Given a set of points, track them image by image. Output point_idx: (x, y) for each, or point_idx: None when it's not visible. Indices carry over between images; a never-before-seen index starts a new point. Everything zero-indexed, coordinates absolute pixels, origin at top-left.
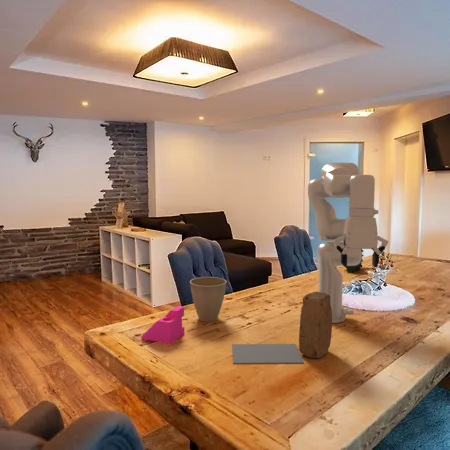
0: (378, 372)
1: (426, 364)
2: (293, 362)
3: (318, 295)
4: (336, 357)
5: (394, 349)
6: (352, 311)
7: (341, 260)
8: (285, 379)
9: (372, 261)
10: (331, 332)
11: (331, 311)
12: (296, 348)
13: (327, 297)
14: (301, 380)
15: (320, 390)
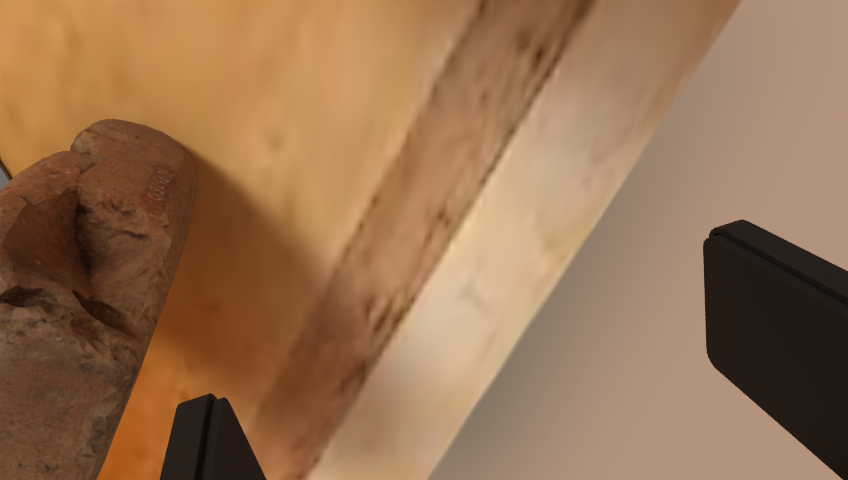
0: (426, 282)
1: (628, 141)
2: None
3: (19, 428)
4: (244, 206)
5: (531, 8)
6: None
7: None
8: None
9: (748, 272)
10: (194, 198)
11: (171, 279)
12: (3, 184)
13: (119, 420)
14: (139, 448)
15: None
